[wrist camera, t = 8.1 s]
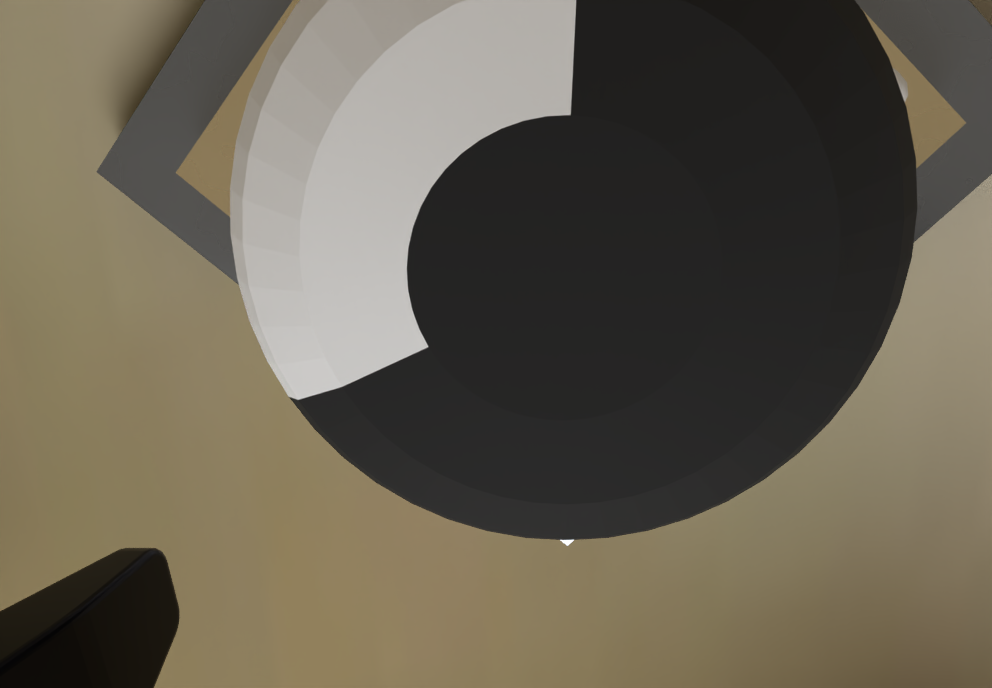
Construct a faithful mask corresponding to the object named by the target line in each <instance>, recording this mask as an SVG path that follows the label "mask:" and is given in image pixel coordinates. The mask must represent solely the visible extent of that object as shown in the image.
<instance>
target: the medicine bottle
mask: <svg viewBox="0 0 992 688" xmlns="http://www.w3.org/2000/svg"><path fill="white" fill-rule="evenodd" d="M907 97H908V88H907V82H906V80H905V79H904V78H903V77H902V76H901V74H900V73H899V72H898V71H897V70H896V69H894V68H893V67H892V65H891V62H890V59H889V57H888V55H887V54H886V52H885V50H884V48H883V46H882V44H881V43H880V41H879V39H878V37H877V35H876V33H875V31H874V30H873V28H872V26H871V24H870V22H869V20H868V19H867V17H866V15H865V13H864V12H863V10H862V9H861V8H860V6H859V5H858V4H857V2H856V1H855V0H300V1H299V2H298V3H297V4H296V6H295V8H294V9H293V11H292V12H291V14H290V16H289V17H288V19H287V20H286V22H285V24H284V25H283V27H282V28H281V30H280V31H279V33H278V35H277V36H276V38H275V39H274V41H273V43H272V44H271V46H270V47H269V50H268V52H267V54H266V56H265V59H264V61H263V63H262V65H261V68H260V70H259V72H258V75H257V77H256V79H255V81H254V84H253V86H252V88H251V90H250V93H249V96H248V99H247V103H246V107H245V110H244V114H243V118H242V121H241V125H240V128H239V132H238V136H237V139H236V145H235V153H234V161H233V169H232V176H231V184H230V231H231V240H232V247H233V254H234V261H235V267H236V274H237V280H238V283H239V287H240V290H241V293H242V297H243V300H244V304H245V307H246V311H247V314H248V318H249V321H250V323H251V326H252V328H253V330H254V332H255V335H256V337H257V339H258V341H259V344H260V346H261V348H262V351H263V353H264V355H265V357H266V360H267V361H268V363H269V365H270V366H271V368H272V370H273V371H274V373H275V375H276V376H277V378H278V380H279V381H280V383H281V385H282V386H283V388H284V390H285V391H286V393H287V395H288V396H289V398H290V399H291V400H292V401H293V403H294V404H295V405H296V406H297V408H298V409H299V410H300V411H301V413H302V414H303V415H304V416H305V418H306V419H307V420H308V422H309V423H310V424H311V425H312V427H313V428H314V429H315V430H316V431H317V432H318V433H319V434H320V435H321V436H322V437H323V438H324V439H325V440H326V441H327V442H328V443H329V444H330V445H331V446H332V447H333V448H334V449H335V450H336V451H337V452H338V453H339V454H340V455H341V456H342V457H344V458H345V459H346V460H347V461H349V462H350V463H351V464H353V465H354V466H355V467H357V468H358V469H359V470H360V471H362V472H363V473H364V474H366V475H367V476H368V477H370V478H371V479H372V480H374V481H375V482H376V483H378V484H380V485H381V486H383V487H385V488H386V489H388V490H390V491H391V492H393V493H395V494H397V495H398V496H400V497H402V498H403V499H405V500H407V501H408V502H410V503H412V504H414V505H417V506H419V507H421V508H424V509H426V510H428V511H431V512H433V513H435V514H437V515H440V516H442V517H444V518H447V519H449V520H453V521H456V522H459V523H463V524H466V525H469V526H472V527H476V528H479V529H482V530H486V531H491V532H496V533H502V534H508V535H513V536H519V537H525V538H539V539H556V540H578V539H595V538H609V537H615V536H620V535H626V534H631V533H637V532H643V531H648V530H652V529H655V528H658V527H661V526H665V525H668V524H671V523H675V522H678V521H681V520H685V519H688V518H690V517H693V516H695V515H697V514H699V513H702V512H704V511H706V510H709V509H711V508H713V507H715V506H718V505H720V504H722V503H725V502H727V501H729V500H730V499H732V498H734V497H735V496H737V495H739V494H740V493H742V492H744V491H745V490H747V489H749V488H751V487H752V486H754V485H756V484H757V483H759V482H761V481H762V480H764V479H765V478H767V477H768V476H769V475H771V474H772V473H773V472H774V471H776V470H777V469H778V468H780V467H781V466H782V465H784V464H785V463H786V462H788V461H789V460H790V459H791V458H793V457H794V456H795V455H797V454H798V453H799V452H800V451H801V450H802V449H803V448H804V447H805V446H806V445H807V444H808V443H809V442H810V441H811V440H812V439H813V438H814V437H815V436H816V435H817V434H818V433H819V432H820V431H821V430H822V429H823V428H824V427H825V426H826V425H827V424H828V423H829V422H830V421H831V420H832V419H833V417H834V416H835V415H836V414H837V412H838V411H839V410H840V408H841V407H842V406H843V405H844V403H845V402H846V401H847V400H848V398H849V397H850V396H851V394H852V393H853V392H854V391H855V389H856V388H857V387H858V385H859V383H860V382H861V380H862V378H863V377H864V375H865V373H866V372H867V370H868V368H869V366H870V365H871V363H872V361H873V360H874V358H875V356H876V355H877V353H878V351H879V350H880V348H881V346H882V344H883V341H884V339H885V336H886V334H887V332H888V329H889V327H890V325H891V322H892V320H893V317H894V315H895V313H896V310H897V308H898V306H899V303H900V299H901V296H902V292H903V288H904V284H905V280H906V277H907V273H908V269H909V265H910V262H911V258H912V251H913V242H914V234H915V225H916V216H917V177H916V156H915V150H914V145H913V140H912V134H911V129H910V123H909V118H908V113H907V107H906V105H905V101H906V99H907Z"/></svg>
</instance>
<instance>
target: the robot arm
mask: <svg viewBox="0 0 992 688" xmlns="http://www.w3.org/2000/svg"><path fill="white" fill-rule="evenodd" d="M178 624H179V606H178V602H177V598H176V594H175V590H174V586H173V582H172V578H171V574H170V570H169V567H168V563H167V560H166V557H165V555H164V554H163V553H162V552H161V551H160V550H158V549H156V548H124V549H120V550H118V551H116V552H114V553H112V554H110V555H108V556H106V557H104V558H102V559H100V560H98V561H96V562H94V563H93V564H91V565H89V566H87V567H85V568H83V569H81V570H79V571H77V572H75V573H73V574H71V575H69V576H67V577H66V578H64V579H62V580H60V581H58V582H56V583H54V584H52V585H50V586H48V587H46V588H44V589H42V590H41V591H39V592H37V593H35V594H33V595H31V596H29V597H27V598H25V599H23V600H21V601H19V602H17V603H15V604H14V605H12V606H10V607H8V608H6V609H4V610H2V611H0V688H154V686H155V684H156V681H157V679H158V676H159V674H160V671H161V669H162V666H163V664H164V662H165V659H166V657H167V654H168V652H169V649H170V647H171V644H172V642H173V640H174V637H175V635H176V632H177V628H178Z"/></svg>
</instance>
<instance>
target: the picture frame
mask: <svg viewBox="0 0 992 688" xmlns="http://www.w3.org/2000/svg"><path fill="white" fill-rule="evenodd" d="M299 1H300V0H205V1H204V3H203V4H202V6H201V8H200V9H199V11H198V12H197V14H196V15H195V17H194V19H193V20H192V22H191V23H190V25H189V27H188V28H187V30H186V31H185V33H184V34H183V36H182V38H181V39H180V41H179V42H178V44H177V45H176V47H175V49H174V50H173V52H172V53H171V55H170V57H169V58H168V60H167V61H166V63H165V64H164V66H163V68H162V69H161V71H160V72H159V74H158V75H157V77H156V79H155V80H154V82H153V83H152V85H151V86H150V88H149V90H148V91H147V93H146V94H145V96H144V98H143V99H142V101H141V102H140V104H139V105H138V107H137V109H136V110H135V112H134V113H133V115H132V116H131V118H130V120H129V121H128V123H127V124H126V126H125V128H124V129H123V131H122V132H121V134H120V135H119V137H118V139H117V140H116V142H115V143H114V145H113V146H112V148H111V150H110V151H109V153H108V154H107V156H106V158H105V159H104V161H103V162H102V164H101V165H100V167H99V169H98V170H97V173H99V174H100V175H101V176H102V177H104V178H105V179H106V180H107V181H109V182H110V183H111V184H113V185H114V186H115V187H116V188H118V189H119V190H120V191H121V192H123V193H124V194H125V195H126V196H128V197H129V198H130V199H131V200H133V201H134V202H135V203H136V204H138V205H139V206H140V207H141V208H143V209H144V210H145V211H147V212H148V213H149V214H150V215H152V216H153V217H154V218H155V219H157V220H158V221H159V222H160V223H162V224H163V225H164V226H165V227H167V228H168V229H169V230H170V231H172V232H173V233H174V234H176V235H177V236H178V237H179V238H181V239H182V240H183V241H184V242H186V243H187V244H188V245H189V246H191V247H192V248H193V249H194V250H196V251H197V252H198V253H199V254H201V255H202V256H203V257H204V258H206V259H207V260H208V261H210V262H211V263H212V264H213V265H215V266H216V267H217V268H218V269H220V270H221V271H222V272H223V273H225V274H226V275H227V276H228V277H230V278H231V279H232V280H233V281H235V282H236V283H237V284H238V285H239V283H238V280H237V274H236V267H235V261H234V254H233V247H232V240H231V231H230V184H231V176H232V169H233V161H234V153H235V145H236V139H237V136H238V132H239V128H240V125H241V121H242V118H243V114H244V110H245V107H246V103H247V99H248V96H249V93H250V90H251V88H252V86H253V84H254V81H255V79H256V77H257V75H258V72H259V70H260V68H261V65H262V63H263V61H264V59H265V56H266V54H267V52H268V50H269V47H270V46H271V44H272V43H273V41H274V39H275V38H276V36H277V35H278V33H279V31H280V30H281V28H282V27H283V25H284V24H285V22H286V20H287V19H288V17H289V16H290V14H291V12H292V11H293V9H294V8H295V6H296V4H297V3H298V2H299ZM855 1H856V2H857V4H858V5H859V6H860V8H861V9H862V10H863V12H864V13H865V15H866V17H867V19H868V20H869V22H870V24H871V26H872V28H873V30H874V31H875V33H876V35H877V37H878V39H879V41H880V43H881V44H882V46H883V48H884V50H885V52H886V54H887V55H888V57H889V59H890V62H891V65H892V67H893V68H894V69H896V70H897V71H898V72H899V73H900V74H901V76H902V77H903V78H904V79H905V80H906V82H907V88H908V97H907V99H906V101H905V105H906V107H907V113H908V118H909V123H910V129H911V134H912V140H913V145H914V150H915V156H916V177H917V216H916V225H915V234H914V242H915V241H916V240H917V239H918V238H919V237H920V236H922V235H923V234H924V233H925V232H926V231H927V230H928V229H930V228H931V227H932V226H933V225H934V224H935V223H936V222H938V221H939V220H940V219H941V218H942V217H943V216H944V215H945V214H947V213H948V212H949V211H950V210H951V209H952V208H953V207H955V206H956V205H957V204H958V203H959V202H960V201H961V200H963V199H964V198H965V197H966V196H967V195H968V194H969V193H971V192H972V191H973V190H974V189H975V188H976V187H977V186H979V185H980V184H981V183H982V182H983V181H984V180H985V179H987V178H988V177H989V176H990V175H991V174H992V26H991V25H990V24H989V23H988V22H987V20H986V19H985V18H984V17H983V16H982V15H981V14H980V12H979V11H978V10H977V9H976V8H975V7H974V6H973V4H972V3H971V2H970V1H969V0H855ZM914 242H913V243H914ZM561 541H562V542H563V543H565V544H566V545H567V546H568V545H569V544H570V543H571V542H572V541H574V540H561Z"/></svg>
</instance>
